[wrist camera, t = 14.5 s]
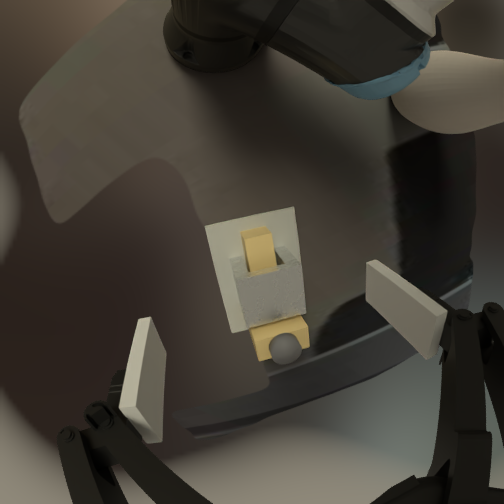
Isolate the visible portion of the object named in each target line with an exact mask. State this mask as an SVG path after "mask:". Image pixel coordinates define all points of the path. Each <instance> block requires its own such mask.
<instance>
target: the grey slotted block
mask: <svg viewBox="0 0 504 504" xmlns="http://www.w3.org/2000/svg"><path fill="white" fill-rule="evenodd" d="M274 251H275V257H276V263H277V266H273V267H269V268H265V269H261V270H257V271H253V272H248V270H247V267H246V265H245V263H244V261H243V258H242V256H238V257H233V258H229V259H230V263H231V268H232V272H233V277H234V281H235V286H236V290H237V295H238V299H239V303H240V306H241V310H242V313H243V316H244V319H245V322H246V326H247V328H251V327H255V326H259V325H263V324H267V323H271V322H275V321H278V320H282V319H286V318H289V317H293V316H296V315H300V314H303V313H306V304H305V293H304V283H303V273H302V264H301V263H300V262H299V261H298V260H297V259H296V258H295V257H294V256H293V254H292V253H291V252H290V251H289V250H288V249H287V248H286V247H285V246H281V247H276V248H274Z"/></svg>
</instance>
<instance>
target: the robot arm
mask: <svg viewBox="0 0 504 504" xmlns="http://www.w3.org/2000/svg"><path fill="white" fill-rule="evenodd" d="M453 1H454V0H171V3H172V7H171V9H170V10H169V12H168V13H167V15H166V18H165V21H164V26H163V34H164V39H165V43H166V46H167V48H168V50H169V52H170V53H171V55H172V56H173V57H174V58H175V59H176V60H177V61H178V62H180V63H181V64H183V65H185V66H186V67H189V68H191V69H194V70H197V71H202V72H210V73H216V72H225V71H230V70H233V69H236V68H238V67H241V66H242V65H244V64H246V63H247V62H249V61H250V60H251V59H253V58H254V57H255V55H256V54H257V53H258V52H259V50H260V49H261V48H262V46H263V44H265V45H267V46H269V47H271V48H273V49H275V50H277V51H279V52H280V53H282V54H284V55H286V56H288V57H290V58H292V59H293V60H295V61H297V62H299V63H301V64H302V65H304V66H306V67H307V68H309V69H311V70H312V71H314V72H316V73H317V74H319V75H321V76H322V77H324V79H325V80H326V81H327V82H329V83H330V84H332V85H334V86H337V87H340V88H341V89H343V90H345V91H346V92H348V93H349V94H351V95H353V96H355V97H357V98H362V99H367V100H375V99H381V98H385V97H388V96H391V95H393V94H395V93H397V92H399V91H401V90H402V89H404V88H406V87H407V86H408V85H410V84H411V83H412V82H413V81H414V80H416V79H417V77H418V76H419V75H420V72H419V71H420V70H421V69H424V68H426V66H427V64H428V62H429V59H430V48H429V45H428V42H427V41H428V40H429V39H431V38H432V37H433V36H434V35H435V34H436V33H435V16H436V14H437V13H438V12H439V11H440V10H442V9H443V8H444V7H446V6H447V5H448V4H450V3H451V2H453ZM366 301H367V302H368V303H369V304H370V305H371V306H373V307H374V308H375V309H376V310H377V311H378V312H379V313H380V314H381V315H382V316H383V317H384V318H385V319H386V320H387V321H388V322H389V323H390V324H391V325H392V326H393V327H394V328H395V329H396V330H397V331H398V332H399V333H400V334H401V335H402V336H403V337H404V338H405V339H406V340H407V341H408V342H409V343H410V344H411V345H412V346H413V347H414V348H415V349H416V350H417V351H418V352H419V353H420V354H421V355H422V356H423V357H424V358H425V359H426V360H427V359H429V358H431V357H433V356H434V355H436V354H437V351H438V348H439V345H440V346H441V347H442V348H443V353H442V356H441V359H440V362H439V365H440V364H441V362H442V381H441V382H442V383H441V399H440V411H439V420H438V429H437V437H436V443H435V449H434V455H433V460H432V464H431V467H430V469H429V472H428V474H427V476H426V477H421V478H417V479H416V477H415V476H414V475H413V476H411V477H409V478H407V479H406V480H404V481H402V482H400V483H398V484H396V485H394V486H393V487H391V488H390V489H388V490H387V491H386V492H385V493H383V494H382V495H381V496H380V497H378V498H377V499H376V500H375V501H373V502H372V503H370V504H504V489H500V488H493V487H489V479H490V468H491V455H492V434H491V432H487V431H486V405H485V404H486V403H485V385H484V380H485V383H486V386H487V389H488V392H489V395H490V398H491V401H492V404H493V408H494V411H495V414H496V418H497V422H498V425H499V429H500V433H501V437H502V442H503V446H504V310H503V308H502V307H501V306H500V305H499V304H497V303H494V302H488V303H486V304H484V306H483V310H482V312H479V313H475V314H473V313H472V312H471V311H469V310H466V309H458V310H455V309H454V308H452V307H451V306H449V305H448V304H447V303H445V302H444V301H443V300H441V299H440V298H439V297H437V296H435V295H434V294H433V293H432V292H430V291H429V290H426V289H423V288H419V289H418V288H416V287H415V286H413V285H412V284H411V283H409V282H408V281H406V280H405V279H404V278H402V277H401V276H399V275H398V274H397V273H395V272H394V271H392V270H391V269H389V268H388V267H386V266H385V265H384V264H382V263H381V262H379V261H378V260H372V261H369V262H366ZM493 341H494V342H493ZM165 365H166V351H165V349H164V347H163V344H162V342H161V340H160V337H159V335H158V333H157V330H156V328H155V326H154V324H153V321H152V318H151V317H147V318H142V319H139V320H138V324H137V327H136V331H135V335H134V339H133V343H132V348H131V352H130V356H129V360H128V365H127V369H125V370H118V371H117V372H116V373H115V375H114V376H113V378H112V381H111V387H110V389H109V393H108V398H107V402H105V401H101V400H100V401H95V402H93V403H91V404H90V405H89V406H87V408H86V409H85V411H84V418H85V421H86V422H87V423H88V424H89V425H90V426H91V428H88V429H85V430H82V431H79V429H78V428H76V427H75V426H66V427H64V428H63V429H61V430H60V432H59V433H58V435H57V444H58V449H59V454H60V458H61V462H62V467H63V471H64V475H65V478H66V482H67V486H68V489H69V492H70V496H71V499H72V502H73V504H128V502H127V500H126V498H125V496H124V494H123V492H122V490H121V487H120V485H119V483H118V481H117V479H116V476H115V474H114V472H113V470H112V467H111V466H112V465H116V464H120V465H121V466H122V467H123V468H124V470H125V471H126V472H127V473H128V474H129V475H130V477H131V478H132V479H133V480H134V481H135V482H136V483H137V484H138V485H139V486H140V487H141V489H143V491H144V492H145V493H146V494H147V495H148V496H149V497H150V498H151V499H152V500H153V501H154V502H155V503H156V504H213V503H211V502H210V501H209V500H207V499H206V498H205V497H203V496H202V495H200V494H199V493H198V492H197V491H195V490H194V489H193V488H192V487H190V486H189V485H188V484H187V483H185V482H184V481H183V480H182V479H181V478H180V477H178V476H177V475H176V474H175V473H174V472H173V471H172V470H170V469H169V468H168V467H167V466H166V465H165V464H163V462H162V461H161V460H159V459H158V458H157V457H156V456H155V455H154V454H153V453H152V452H151V451H150V450H149V449H148V448H147V447H146V446H145V445H144V444H143V443H142V442H141V441H142V438H143V439H144V440H145V441H146V443H156V442H162V428H163V399H164V381H165V380H164V379H165Z"/></svg>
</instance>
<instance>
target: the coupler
mask: <svg viewBox="0 0 504 504" xmlns="http://www.w3.org/2000/svg"><path fill="white" fill-rule="evenodd" d="M240 235H241V240H242V245H243V250H244V255H245V260H246V265H247V270H248V272H253V271H257V270H261V269H265V268H269V267H273V266H277V263H276V257H275V251H274V244H273V238H272V233H271V232H270V231H269V230H268V228H267V227H266V226H263V227H258V228H254V229H249V230H245V231H241V232H240ZM248 329H249V332H250V335H251V338H252V341H253V344H254V347H255V351H256V354H257V356H258V360H259V361H262V360H266V359H270V358H272V359H273V360H274V362H276V363H278V364H289V363H292V362H294V361H295V360H296V359H298V358H299V356H300V355H301V352H302V349H304V348H308V347H310V345H309V333H308V326H307V324H306V323H305V321H304V320H303V318H302V316H301V315H296V316H293V317H289V318H286V319H282V320H278V321H275V322H271V323H267V324H263V325H259V326H255V327H251V328H248Z"/></svg>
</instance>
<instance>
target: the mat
mask: <svg viewBox="0 0 504 504" xmlns="http://www.w3.org/2000/svg"><path fill="white" fill-rule="evenodd" d="M263 226H266V227H267V228H268V230H269V231H270V232H271V233H272V238H273V244H274V248H276V247H281V246H285V247H286V248H287V249H288V250H289V251H290V252H291V253H292V254H293V256H294V257H295V258H296V259H297V260H298V261H299V262H300V263H301V258H300V249H299V241H298V233H297V225H296V218H295V210H294V207H289V208H284V209H279V210H274V211H269V212H265V213H260V214H256V215H251V216H246V217H242V218H237V219H233V220H229V221H224V222H220V223H215V224H211V225H207V226H205V229H206V234H207V238H208V242H209V246H210V250H211V255H212V258H213V262H214V267H215V270H216V275H217V278H218V282H219V286H220V290H221V294H222V298H223V302H224V306H225V309H226V313H227V317H228V321H229V324H230V328H231V331H232V333H235V332H240V331H244V330H248V328H247V326H246V322H245V319H244V316H243V313H242V310H241V306H240V303H239V299H238V295H237V290H236V286H235V281H234V277H233V272H232V268H231V263H230V259H229V258H233V257H238V256H242V258H243V261H244V263H245V265H246V260H245V255H244V250H243V245H242V240H241V235H240V232H241V231H245V230H249V229H254V228H258V227H263ZM246 267H247V265H246ZM303 314H306V313H303ZM303 314H300V315H303Z"/></svg>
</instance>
